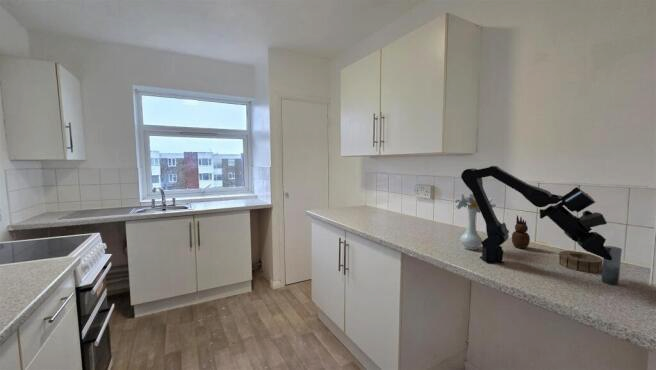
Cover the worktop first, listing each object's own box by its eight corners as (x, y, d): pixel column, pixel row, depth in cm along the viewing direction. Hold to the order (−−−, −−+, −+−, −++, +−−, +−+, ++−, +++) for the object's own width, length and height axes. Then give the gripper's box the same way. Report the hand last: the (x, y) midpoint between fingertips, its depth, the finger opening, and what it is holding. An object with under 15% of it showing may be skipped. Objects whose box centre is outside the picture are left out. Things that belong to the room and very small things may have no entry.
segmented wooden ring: (576, 272, 102) (577, 262, 101) (551, 260, 113) (551, 250, 113) (610, 272, 101) (611, 261, 101) (581, 260, 113) (582, 250, 113)
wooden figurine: (508, 246, 132) (510, 214, 130) (517, 244, 134) (518, 213, 132) (523, 250, 125) (525, 217, 124) (531, 249, 127) (533, 216, 126)
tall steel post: (609, 285, 92) (612, 249, 90) (597, 279, 96) (601, 245, 94) (621, 285, 91) (625, 249, 90) (609, 279, 95) (613, 245, 94)
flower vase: (497, 248, 129) (500, 194, 126) (469, 254, 121) (471, 197, 119) (472, 240, 141) (474, 191, 138) (445, 245, 133) (447, 193, 130)
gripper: (599, 209, 86) (646, 248, 82) (577, 200, 102) (615, 232, 99) (564, 231, 90) (607, 270, 86) (549, 219, 107) (585, 251, 103)
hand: (604, 254), depth 93 cm, fingers open, 9 cm apart
